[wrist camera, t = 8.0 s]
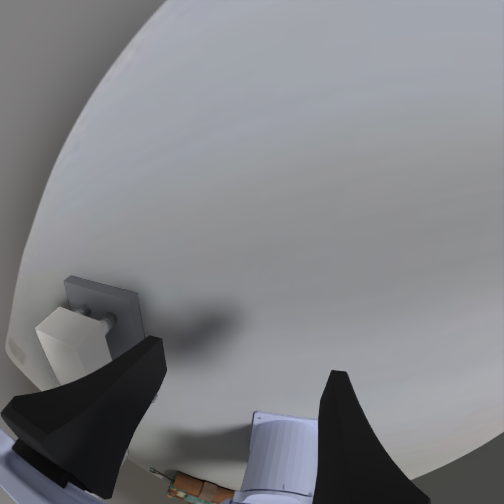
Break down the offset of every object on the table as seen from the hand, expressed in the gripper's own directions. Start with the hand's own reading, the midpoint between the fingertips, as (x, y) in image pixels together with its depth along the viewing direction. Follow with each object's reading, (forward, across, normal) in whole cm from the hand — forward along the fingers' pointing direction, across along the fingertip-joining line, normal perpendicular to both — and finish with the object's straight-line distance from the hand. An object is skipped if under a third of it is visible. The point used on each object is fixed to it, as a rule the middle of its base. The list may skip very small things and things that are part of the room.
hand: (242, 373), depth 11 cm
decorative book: (+10, +9, +48) cm, 50 cm away
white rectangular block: (+6, +15, +11) cm, 19 cm away
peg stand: (+9, +15, +11) cm, 21 cm away
